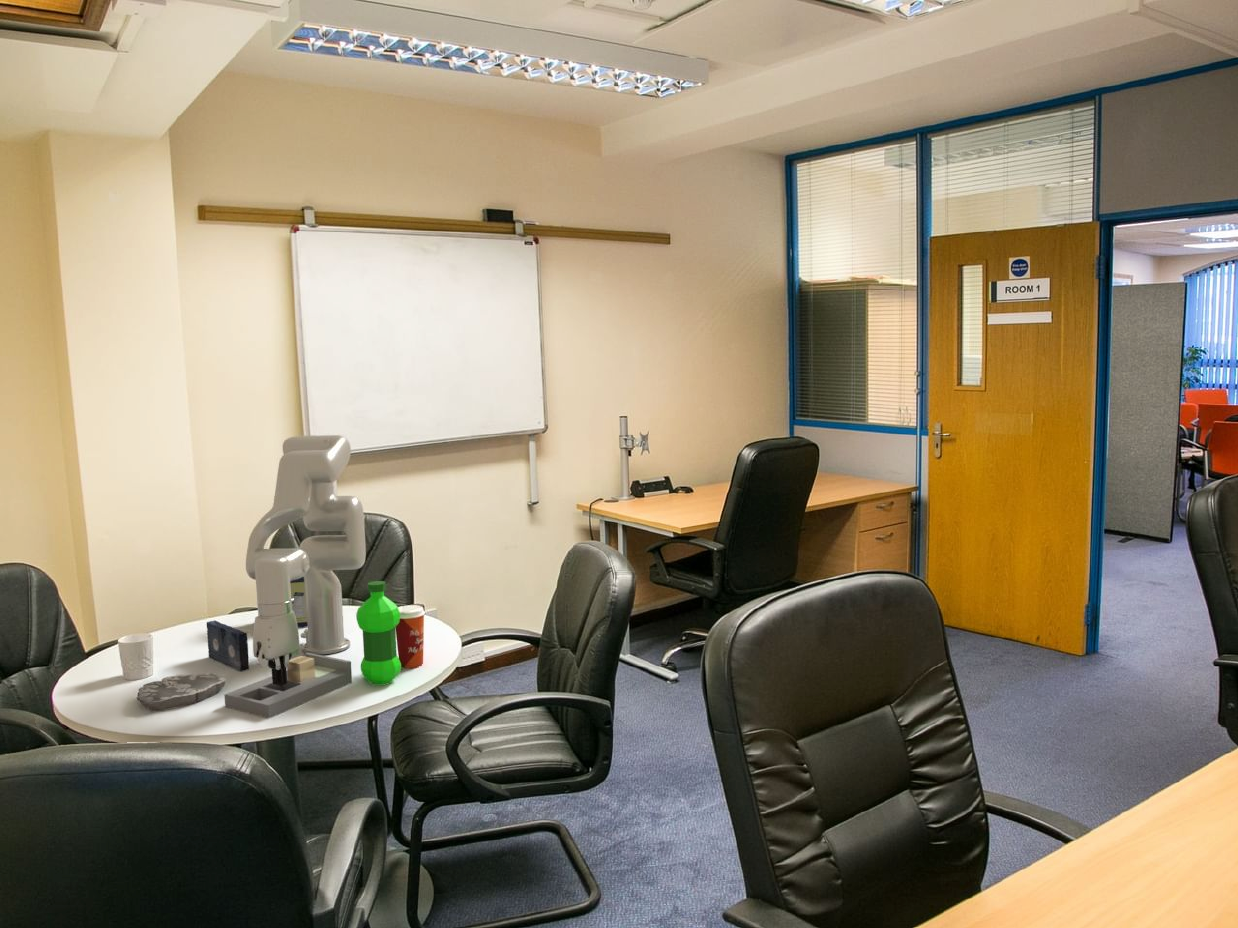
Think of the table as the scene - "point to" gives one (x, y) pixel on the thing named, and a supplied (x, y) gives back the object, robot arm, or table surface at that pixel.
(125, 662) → the white cup
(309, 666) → the birch block
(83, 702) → the table surface
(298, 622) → the protein box
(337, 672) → the box
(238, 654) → the vhs cassette tape
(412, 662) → the coffee cup
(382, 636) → the plastic bottle
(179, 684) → the brain slice
